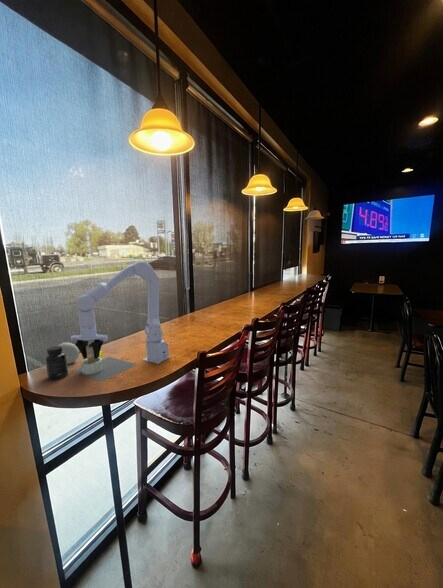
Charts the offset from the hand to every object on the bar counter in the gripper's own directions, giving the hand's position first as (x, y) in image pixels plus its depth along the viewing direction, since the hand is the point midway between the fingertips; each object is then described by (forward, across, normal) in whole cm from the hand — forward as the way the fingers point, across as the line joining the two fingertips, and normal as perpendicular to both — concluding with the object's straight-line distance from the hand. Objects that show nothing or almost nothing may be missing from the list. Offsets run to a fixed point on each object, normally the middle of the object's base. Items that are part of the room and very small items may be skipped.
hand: (91, 357), depth 101 cm
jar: (+5, 0, 0) cm, 5 cm away
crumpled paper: (+6, +8, -14) cm, 17 cm away
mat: (+6, -4, -2) cm, 7 cm away
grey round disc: (+6, +16, -7) cm, 18 cm away
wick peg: (+3, 0, 0) cm, 3 cm away
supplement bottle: (+6, +11, +5) cm, 13 cm away
